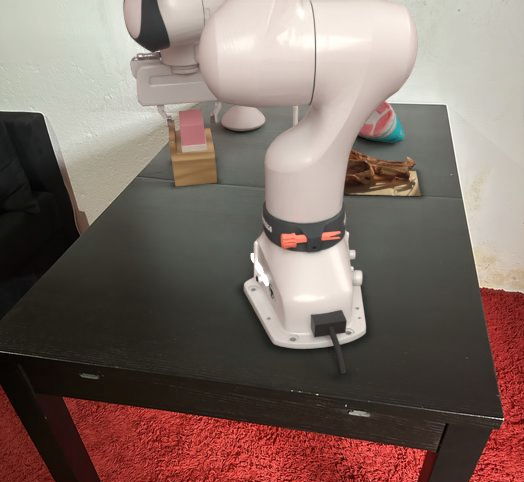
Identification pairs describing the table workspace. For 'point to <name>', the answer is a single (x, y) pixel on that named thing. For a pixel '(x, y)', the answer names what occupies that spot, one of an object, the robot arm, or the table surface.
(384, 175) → the driftwood on gold plate
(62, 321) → the table surface
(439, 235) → the table surface
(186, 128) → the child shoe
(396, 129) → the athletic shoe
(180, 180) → the brown boxy piece
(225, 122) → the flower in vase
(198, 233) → the table surface
